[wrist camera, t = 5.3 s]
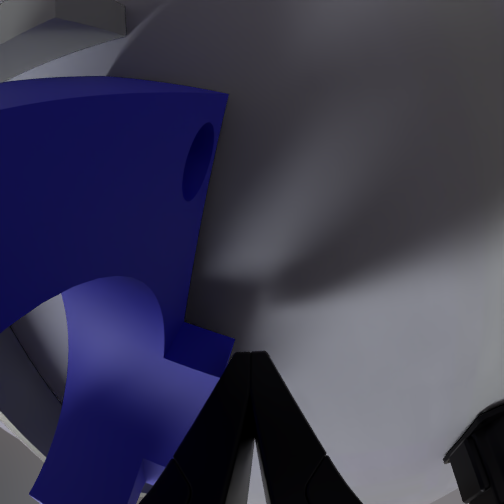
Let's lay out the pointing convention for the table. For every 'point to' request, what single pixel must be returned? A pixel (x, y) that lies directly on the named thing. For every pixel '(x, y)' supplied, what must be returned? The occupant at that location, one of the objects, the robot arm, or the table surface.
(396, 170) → the table surface
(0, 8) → the grey u-shaped bracket
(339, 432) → the table surface
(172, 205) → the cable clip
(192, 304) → the table surface
